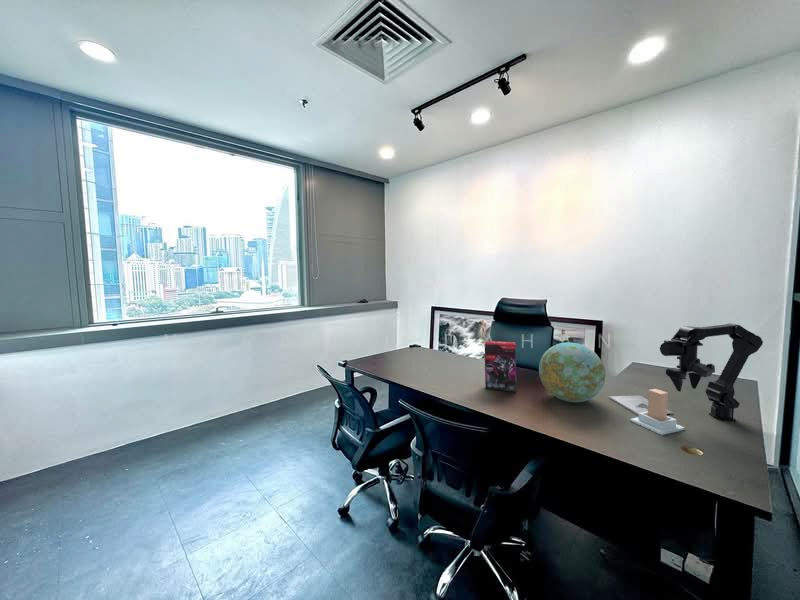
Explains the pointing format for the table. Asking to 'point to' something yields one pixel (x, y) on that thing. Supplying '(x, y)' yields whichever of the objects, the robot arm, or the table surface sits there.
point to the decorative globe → (572, 372)
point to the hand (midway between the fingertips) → (686, 389)
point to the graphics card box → (500, 366)
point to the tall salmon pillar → (657, 404)
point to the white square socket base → (657, 424)
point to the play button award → (633, 403)
